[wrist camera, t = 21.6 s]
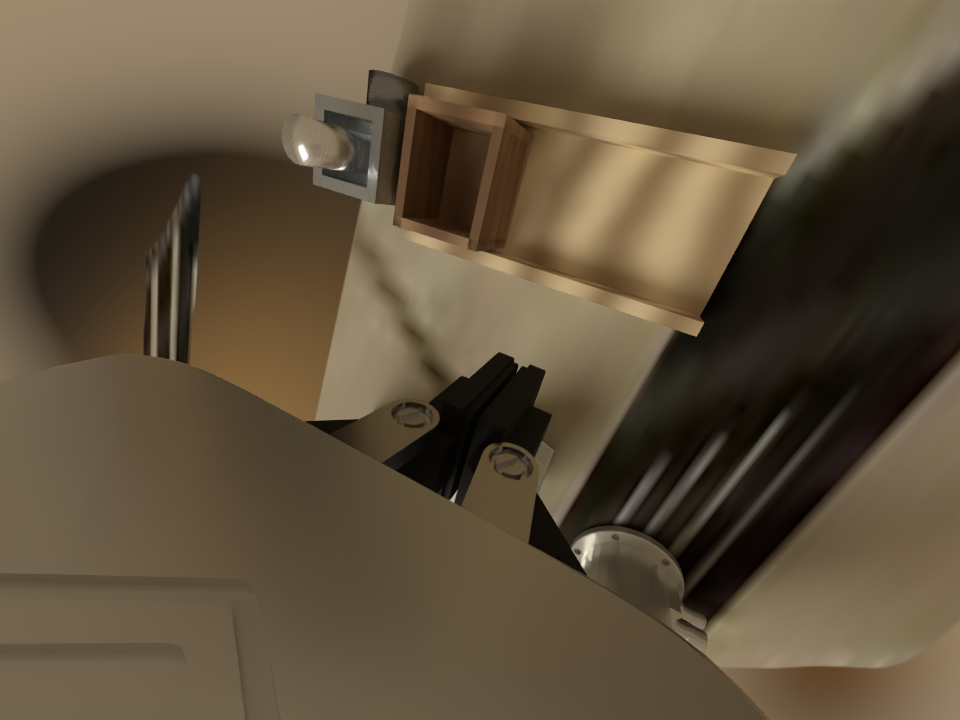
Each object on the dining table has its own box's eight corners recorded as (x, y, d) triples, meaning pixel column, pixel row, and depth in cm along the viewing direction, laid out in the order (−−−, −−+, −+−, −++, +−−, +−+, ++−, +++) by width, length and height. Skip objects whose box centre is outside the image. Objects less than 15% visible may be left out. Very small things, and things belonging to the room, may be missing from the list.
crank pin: (384, 136, 32) (313, 115, 25) (383, 177, 33) (316, 167, 26) (355, 133, 33) (279, 112, 26) (355, 173, 34) (284, 162, 27)
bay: (778, 162, 26) (807, 149, 21) (691, 325, 32) (699, 342, 27) (445, 96, 33) (415, 76, 29) (422, 237, 39) (394, 239, 34)
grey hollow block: (441, 95, 33) (389, 61, 27) (423, 207, 38) (374, 203, 31) (380, 83, 35) (316, 48, 28) (370, 191, 40) (312, 184, 33)
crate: (533, 136, 30) (506, 114, 24) (504, 247, 34) (475, 251, 28) (451, 118, 32) (408, 93, 26) (433, 225, 37) (392, 224, 30)
